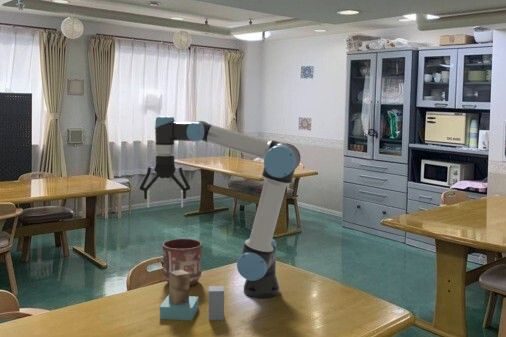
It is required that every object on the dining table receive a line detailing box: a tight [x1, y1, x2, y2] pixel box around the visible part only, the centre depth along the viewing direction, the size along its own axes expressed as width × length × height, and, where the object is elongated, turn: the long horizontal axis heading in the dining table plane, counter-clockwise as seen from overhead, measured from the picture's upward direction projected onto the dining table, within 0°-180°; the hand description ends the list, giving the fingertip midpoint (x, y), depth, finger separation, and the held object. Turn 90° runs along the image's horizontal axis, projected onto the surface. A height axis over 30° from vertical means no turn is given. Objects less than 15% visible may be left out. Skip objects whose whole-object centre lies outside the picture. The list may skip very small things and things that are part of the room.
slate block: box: [208, 285, 225, 321], centre depth 197 cm, size 6×6×11 cm
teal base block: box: [159, 294, 199, 321], centre depth 201 cm, size 12×12×5 cm
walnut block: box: [168, 270, 190, 305], centre depth 200 cm, size 6×6×11 cm
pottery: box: [162, 238, 203, 287], centre depth 234 cm, size 18×18×18 cm
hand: (165, 207), depth 217 cm, fingers open, 13 cm apart
